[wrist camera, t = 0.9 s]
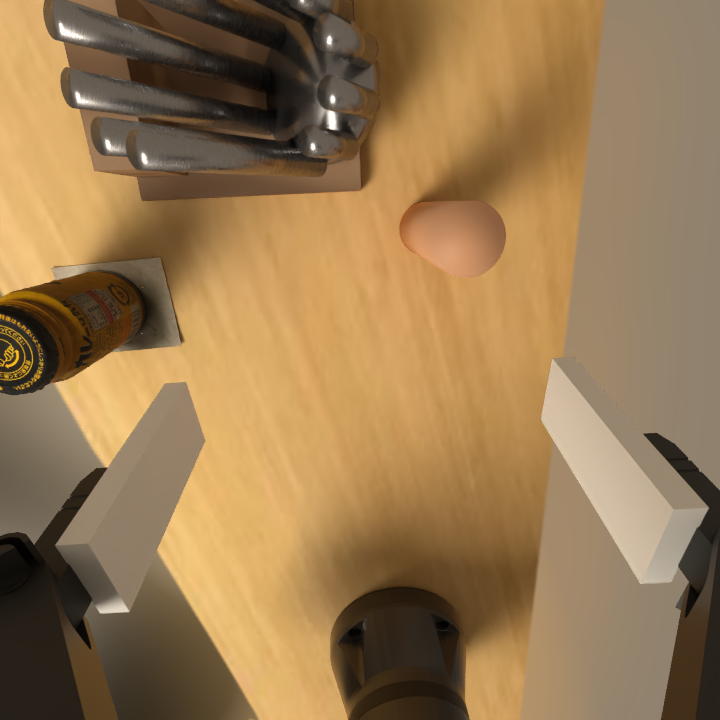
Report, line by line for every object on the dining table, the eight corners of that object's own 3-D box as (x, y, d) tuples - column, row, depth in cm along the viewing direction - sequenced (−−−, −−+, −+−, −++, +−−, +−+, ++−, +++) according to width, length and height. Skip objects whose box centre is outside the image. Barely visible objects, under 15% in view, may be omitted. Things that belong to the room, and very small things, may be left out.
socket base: (360, 190, 33) (367, 186, 25) (148, 200, 32) (92, 199, 25) (352, -1, 29) (358, -74, 21) (109, 6, 28) (27, -66, 21)
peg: (448, 252, 35) (503, 276, 24) (399, 255, 35) (431, 280, 23) (449, 200, 33) (508, 198, 22) (399, 202, 33) (432, 202, 22)
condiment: (52, 267, 34) (-90, 299, 22) (161, 257, 34) (74, 283, 23) (82, 354, 36) (-33, 422, 25) (182, 344, 36) (114, 407, 25)
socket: (375, 177, 33) (405, 157, 19) (166, 186, 32) (41, 173, 18) (370, 14, 29) (402, -155, 15) (136, 21, 28) (-48, -147, 15)
